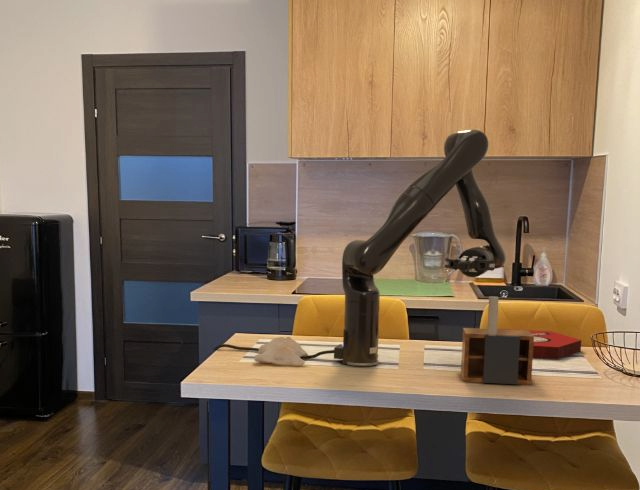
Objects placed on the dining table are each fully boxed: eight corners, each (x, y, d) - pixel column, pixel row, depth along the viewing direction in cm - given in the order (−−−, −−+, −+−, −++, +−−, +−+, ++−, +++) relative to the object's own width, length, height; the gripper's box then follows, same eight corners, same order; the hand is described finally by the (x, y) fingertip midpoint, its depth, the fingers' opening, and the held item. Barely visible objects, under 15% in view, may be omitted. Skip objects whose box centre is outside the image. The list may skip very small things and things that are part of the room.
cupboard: (463, 381, 181) (465, 333, 180) (460, 373, 189) (462, 327, 187) (531, 384, 179) (534, 336, 177) (525, 377, 187) (528, 330, 185)
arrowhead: (252, 348, 195) (266, 326, 225) (252, 367, 196) (266, 342, 225) (306, 351, 194) (313, 328, 223) (305, 370, 195) (312, 345, 224)
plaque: (461, 341, 232) (516, 361, 204) (462, 330, 232) (517, 349, 203) (535, 337, 240) (598, 357, 211) (536, 327, 239) (599, 345, 210)
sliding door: (483, 383, 179) (487, 297, 176) (482, 381, 181) (486, 296, 178) (517, 385, 177) (522, 298, 174) (516, 382, 179) (521, 297, 176)
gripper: (450, 246, 196) (436, 249, 181) (502, 248, 191) (491, 252, 175) (449, 274, 197) (434, 280, 182) (500, 277, 192) (489, 283, 176)
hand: (462, 266), depth 179 cm, fingers closed
